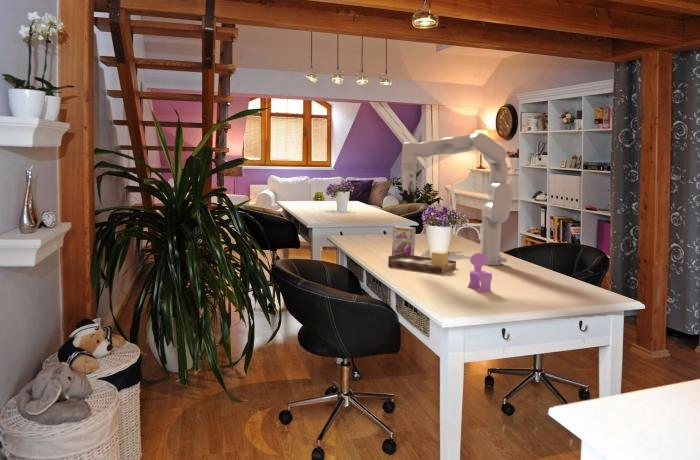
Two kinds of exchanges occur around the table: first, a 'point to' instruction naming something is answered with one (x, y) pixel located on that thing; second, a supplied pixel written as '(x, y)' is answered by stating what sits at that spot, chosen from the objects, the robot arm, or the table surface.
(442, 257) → the block
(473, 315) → the table surface
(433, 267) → the brown wooden tray
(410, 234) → the candy bar box
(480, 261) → the toy chair
